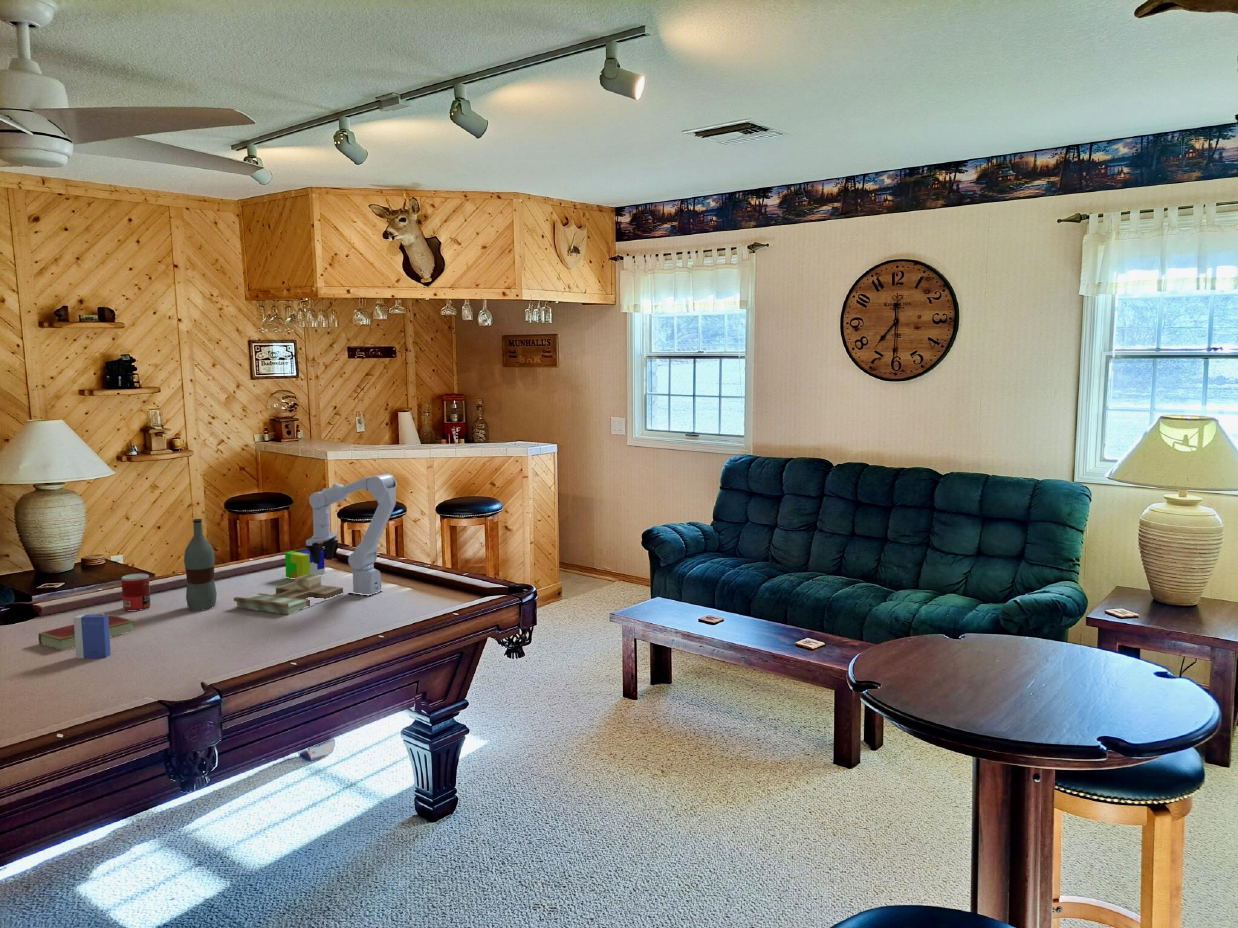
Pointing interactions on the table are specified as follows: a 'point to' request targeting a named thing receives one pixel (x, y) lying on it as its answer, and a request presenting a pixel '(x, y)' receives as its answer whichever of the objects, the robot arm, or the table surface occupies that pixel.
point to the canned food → (136, 591)
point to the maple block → (308, 582)
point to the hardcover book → (66, 635)
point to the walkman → (92, 636)
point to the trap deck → (286, 598)
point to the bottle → (200, 571)
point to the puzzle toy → (303, 564)
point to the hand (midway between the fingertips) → (323, 561)
